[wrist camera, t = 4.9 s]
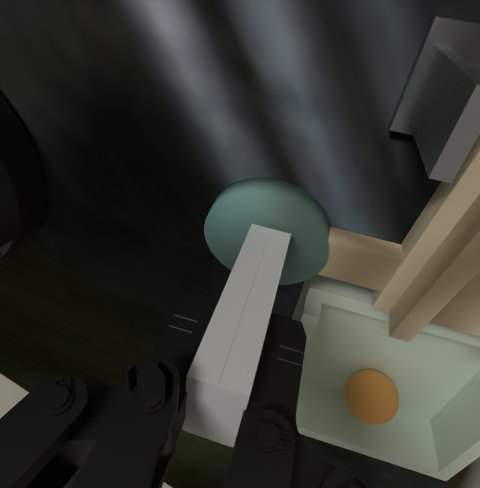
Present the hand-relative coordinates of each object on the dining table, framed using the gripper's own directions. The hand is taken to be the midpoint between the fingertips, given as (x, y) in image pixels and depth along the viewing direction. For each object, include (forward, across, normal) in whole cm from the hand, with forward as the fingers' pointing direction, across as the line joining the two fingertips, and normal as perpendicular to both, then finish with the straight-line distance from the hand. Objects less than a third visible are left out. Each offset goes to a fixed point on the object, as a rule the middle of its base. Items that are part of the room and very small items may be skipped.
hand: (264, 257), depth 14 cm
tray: (+6, +8, -9) cm, 13 cm away
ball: (+3, +8, -11) cm, 15 cm away
